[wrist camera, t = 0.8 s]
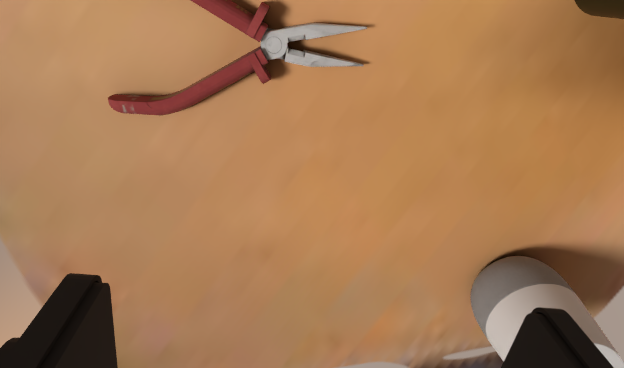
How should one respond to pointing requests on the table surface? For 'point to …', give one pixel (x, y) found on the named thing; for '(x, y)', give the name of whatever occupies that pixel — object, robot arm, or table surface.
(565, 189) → the table surface
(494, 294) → the smart speaker
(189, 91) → the pliers
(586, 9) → the wine bottle
